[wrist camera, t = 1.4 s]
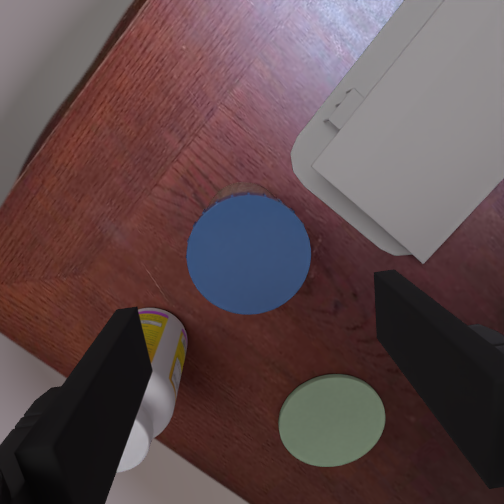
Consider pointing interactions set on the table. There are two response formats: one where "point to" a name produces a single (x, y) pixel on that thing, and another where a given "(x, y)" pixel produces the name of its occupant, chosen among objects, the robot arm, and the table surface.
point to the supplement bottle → (156, 382)
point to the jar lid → (248, 253)
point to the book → (413, 127)
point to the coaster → (331, 420)
